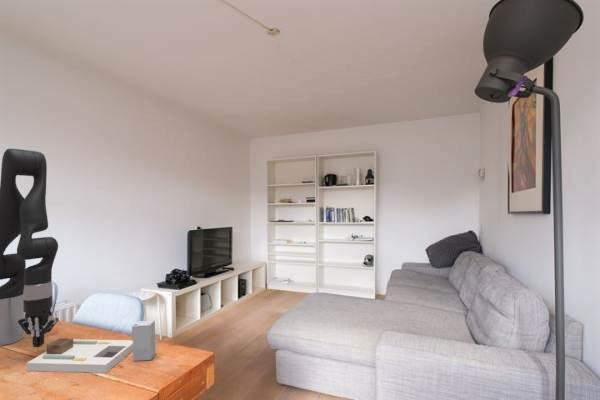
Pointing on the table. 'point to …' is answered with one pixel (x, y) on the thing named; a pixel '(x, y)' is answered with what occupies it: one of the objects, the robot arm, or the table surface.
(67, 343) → the walnut block
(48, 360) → the board
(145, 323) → the skincare box
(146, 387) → the table surface
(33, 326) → the robot arm
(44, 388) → the table surface
